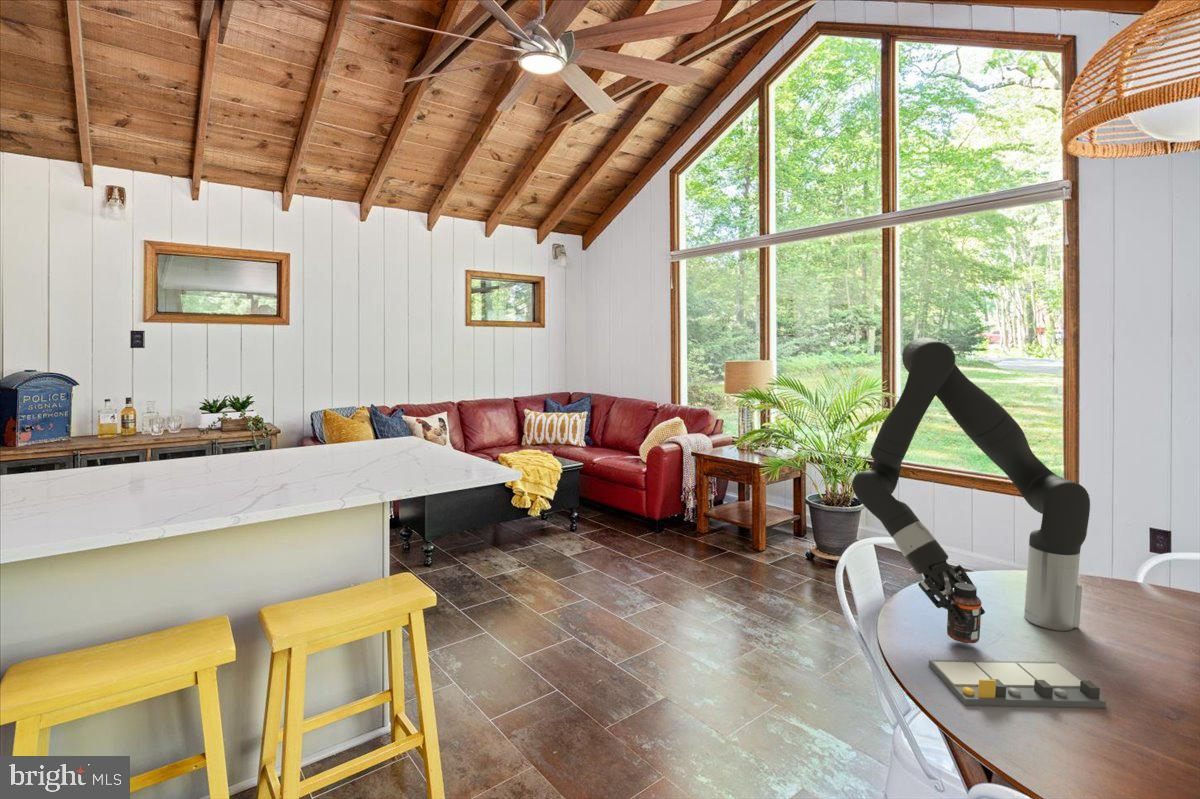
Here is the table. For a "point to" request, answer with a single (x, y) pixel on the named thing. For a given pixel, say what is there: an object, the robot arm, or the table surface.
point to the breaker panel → (1016, 684)
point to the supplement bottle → (972, 610)
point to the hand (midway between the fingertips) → (972, 618)
